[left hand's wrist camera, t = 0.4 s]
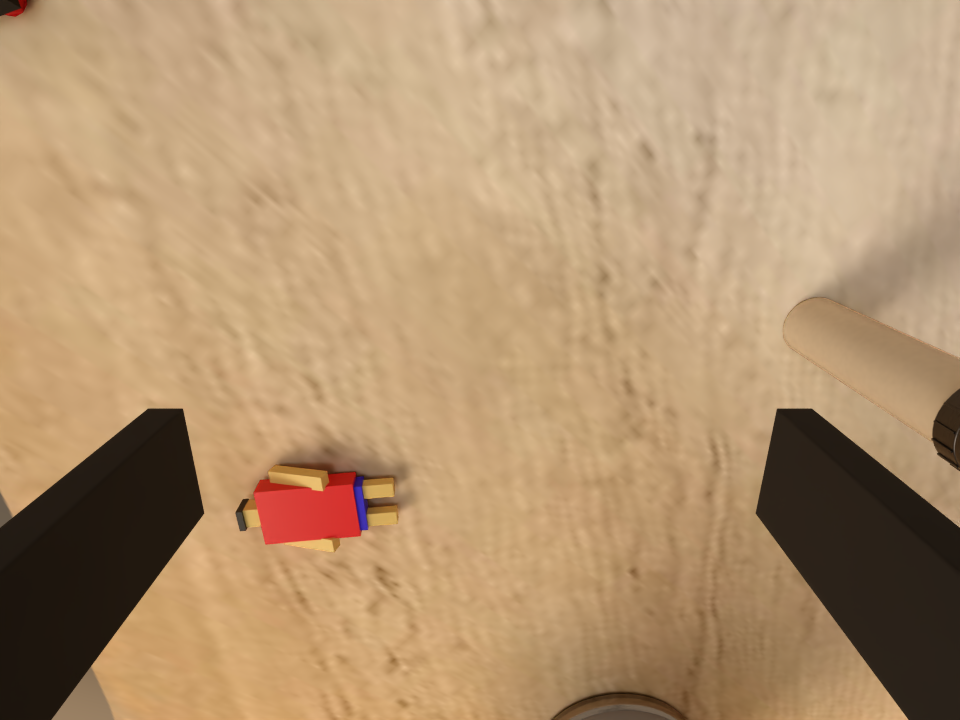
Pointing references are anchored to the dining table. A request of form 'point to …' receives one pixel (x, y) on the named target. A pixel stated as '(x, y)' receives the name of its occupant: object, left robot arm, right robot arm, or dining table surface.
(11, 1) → the electric hoist
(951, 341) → the dining table surface
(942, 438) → the lid
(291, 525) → the toy figure
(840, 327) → the beige long cylinder
